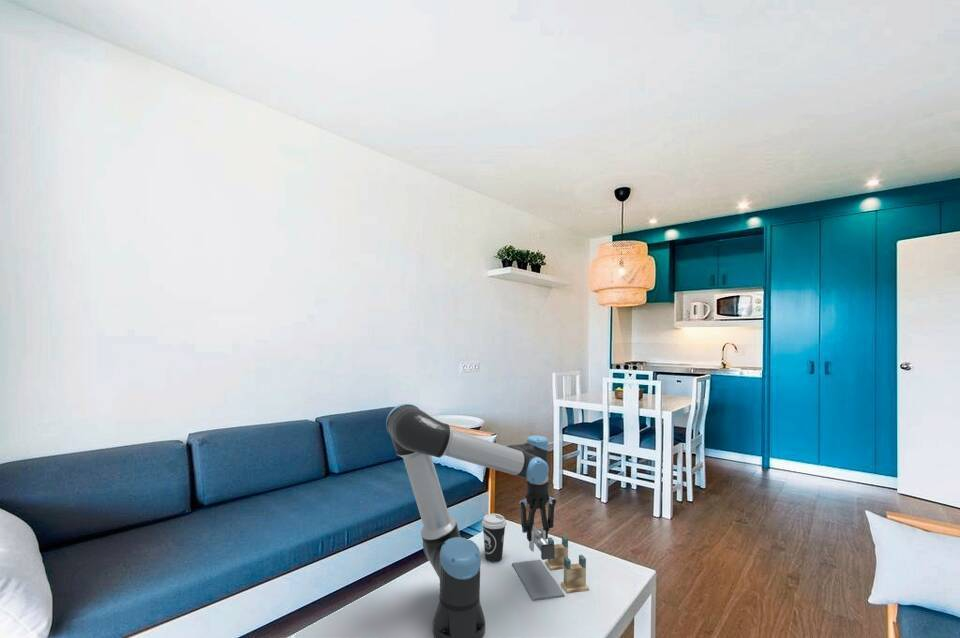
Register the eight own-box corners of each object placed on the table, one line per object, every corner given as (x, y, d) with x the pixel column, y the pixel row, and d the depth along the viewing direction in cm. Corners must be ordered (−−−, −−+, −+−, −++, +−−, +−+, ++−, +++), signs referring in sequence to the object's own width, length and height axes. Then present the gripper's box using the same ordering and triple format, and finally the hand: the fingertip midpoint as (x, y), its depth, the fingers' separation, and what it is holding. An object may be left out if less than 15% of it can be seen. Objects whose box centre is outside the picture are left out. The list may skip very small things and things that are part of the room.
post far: (550, 570, 154) (550, 542, 154) (545, 563, 158) (545, 536, 159) (570, 567, 155) (570, 540, 156) (564, 560, 160) (565, 534, 161)
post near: (566, 593, 140) (567, 563, 140) (560, 584, 145) (560, 555, 145) (588, 590, 142) (589, 560, 142) (582, 581, 147) (582, 552, 147)
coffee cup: (504, 565, 156) (504, 524, 157) (478, 562, 158) (479, 521, 159) (507, 553, 165) (508, 514, 166) (483, 550, 167) (484, 511, 168)
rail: (554, 558, 139) (554, 545, 139) (542, 559, 138) (542, 546, 138) (532, 530, 159) (532, 518, 159) (522, 531, 158) (522, 519, 158)
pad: (532, 600, 136) (532, 598, 136) (512, 564, 157) (512, 562, 157) (564, 596, 138) (564, 594, 138) (539, 561, 160) (539, 559, 160)
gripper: (518, 486, 143) (518, 557, 143) (564, 483, 147) (563, 551, 146) (511, 479, 151) (511, 546, 150) (555, 476, 155) (555, 541, 154)
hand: (537, 548), depth 148 cm, fingers closed on rail, 4 cm apart
